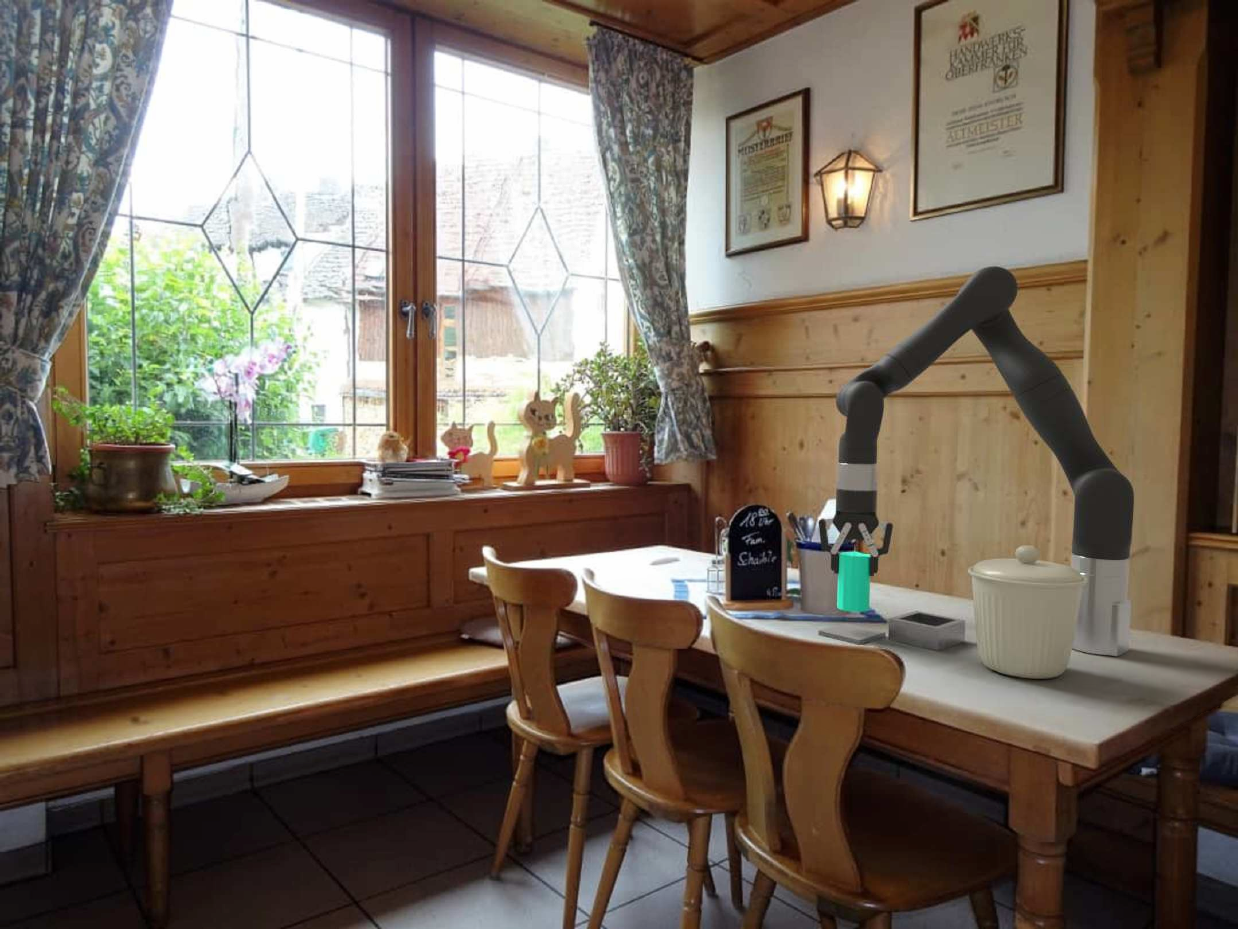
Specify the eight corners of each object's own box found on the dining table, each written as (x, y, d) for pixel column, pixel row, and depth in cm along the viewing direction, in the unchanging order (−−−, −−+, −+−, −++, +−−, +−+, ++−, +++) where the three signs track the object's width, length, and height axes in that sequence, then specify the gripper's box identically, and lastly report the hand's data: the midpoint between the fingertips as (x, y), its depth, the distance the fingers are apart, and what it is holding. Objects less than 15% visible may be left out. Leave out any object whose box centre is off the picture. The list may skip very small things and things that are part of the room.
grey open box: (964, 641, 163) (965, 620, 162) (937, 650, 156) (938, 629, 156) (915, 630, 170) (916, 610, 170) (888, 639, 163) (888, 618, 163)
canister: (1078, 695, 132) (1084, 558, 131) (954, 674, 142) (959, 547, 141) (1087, 666, 148) (1093, 544, 146) (974, 649, 157) (979, 534, 156)
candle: (855, 613, 162) (857, 549, 161) (830, 607, 166) (832, 545, 166) (875, 609, 165) (877, 547, 164) (850, 603, 170) (852, 542, 169)
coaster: (885, 636, 166) (885, 632, 166) (859, 644, 160) (859, 640, 160) (845, 627, 172) (845, 623, 172) (818, 634, 166) (818, 630, 166)
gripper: (896, 486, 165) (893, 573, 167) (819, 483, 170) (817, 568, 171) (896, 490, 158) (893, 581, 159) (816, 487, 163) (813, 575, 164)
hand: (853, 574), depth 165 cm, fingers closed on candle, 6 cm apart
